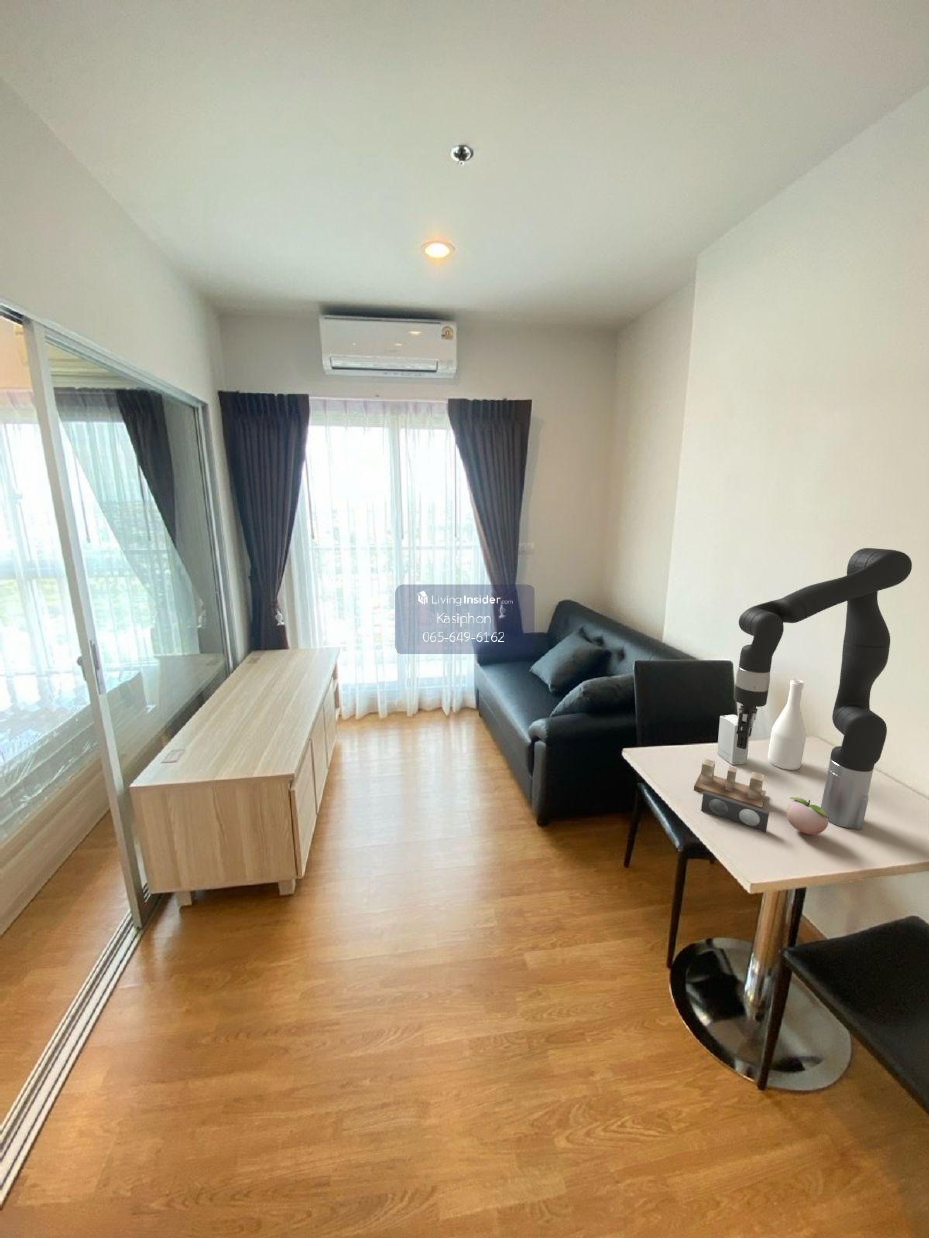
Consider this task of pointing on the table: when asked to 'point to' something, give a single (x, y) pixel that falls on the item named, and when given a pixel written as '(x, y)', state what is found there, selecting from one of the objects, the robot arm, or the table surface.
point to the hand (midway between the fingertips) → (743, 741)
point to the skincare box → (730, 741)
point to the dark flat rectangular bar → (735, 811)
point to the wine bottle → (789, 732)
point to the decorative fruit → (806, 816)
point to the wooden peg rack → (731, 785)
